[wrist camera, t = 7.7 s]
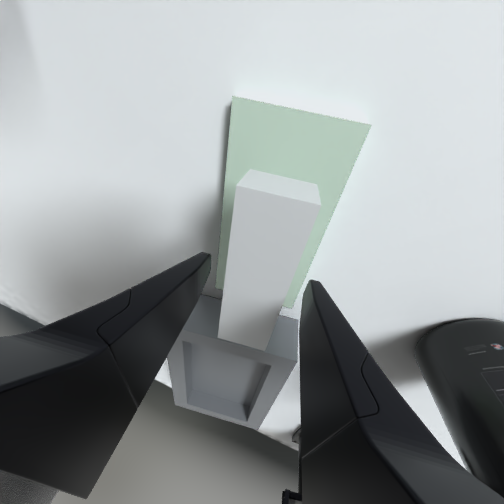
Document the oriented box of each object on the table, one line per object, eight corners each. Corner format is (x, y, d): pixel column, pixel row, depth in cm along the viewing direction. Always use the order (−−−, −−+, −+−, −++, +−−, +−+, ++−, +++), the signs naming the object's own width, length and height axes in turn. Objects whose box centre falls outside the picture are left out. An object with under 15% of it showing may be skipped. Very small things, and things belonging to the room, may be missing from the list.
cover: (292, 298, 17) (288, 378, 12) (219, 279, 17) (186, 348, 12) (365, 123, 9) (431, 140, 5) (237, 97, 10) (176, 86, 5)
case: (262, 396, 27) (257, 430, 24) (188, 374, 27) (175, 404, 25) (298, 320, 17) (297, 361, 15) (183, 289, 18) (161, 323, 15)
